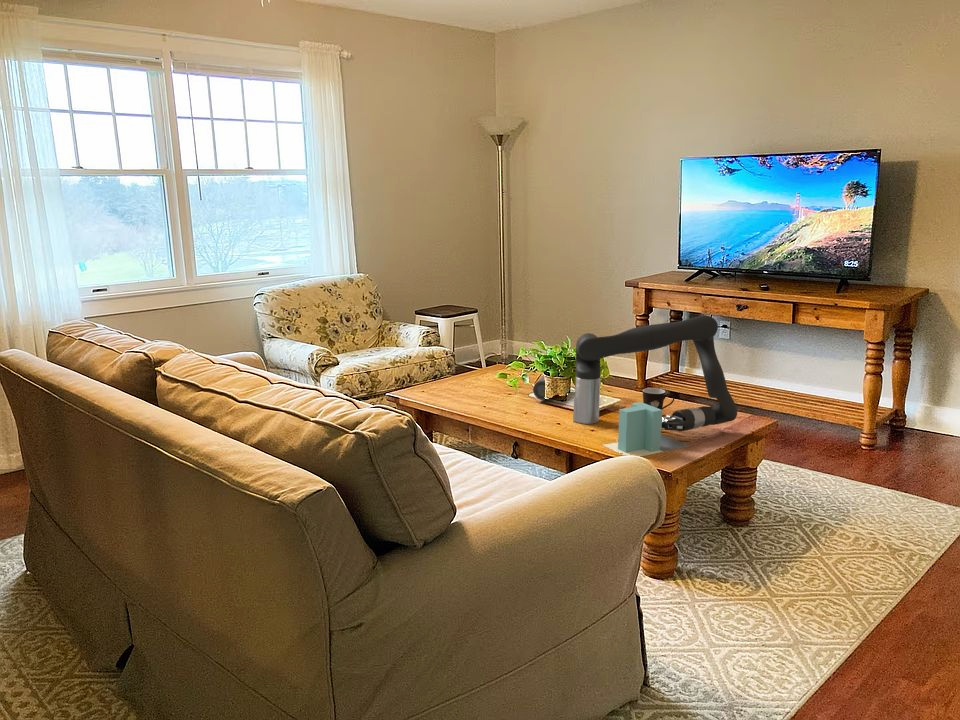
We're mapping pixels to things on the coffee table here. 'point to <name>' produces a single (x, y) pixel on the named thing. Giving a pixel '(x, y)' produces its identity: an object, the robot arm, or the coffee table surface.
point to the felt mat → (665, 445)
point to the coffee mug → (655, 397)
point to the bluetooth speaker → (539, 389)
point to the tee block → (639, 428)
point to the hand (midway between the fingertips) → (649, 426)
